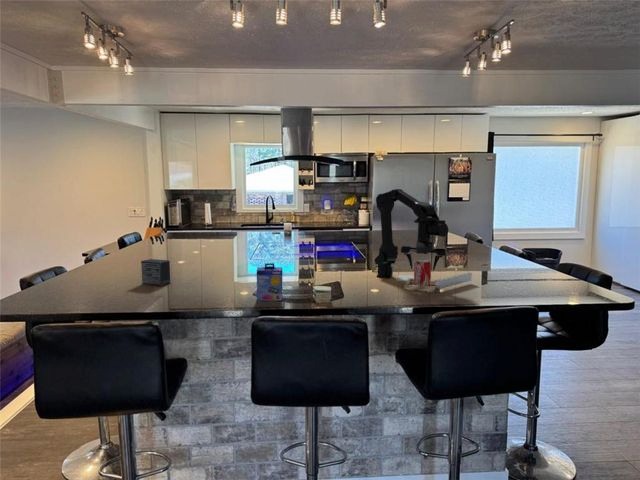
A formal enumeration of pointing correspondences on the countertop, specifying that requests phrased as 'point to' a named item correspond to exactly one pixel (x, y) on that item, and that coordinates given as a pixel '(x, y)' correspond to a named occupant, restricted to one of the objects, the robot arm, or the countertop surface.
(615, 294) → the countertop surface
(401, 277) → the pad
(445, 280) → the latch bar
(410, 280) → the frame
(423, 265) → the soda can
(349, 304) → the countertop surface
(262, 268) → the ink cartridge box
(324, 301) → the stacked layers on plate
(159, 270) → the small box
